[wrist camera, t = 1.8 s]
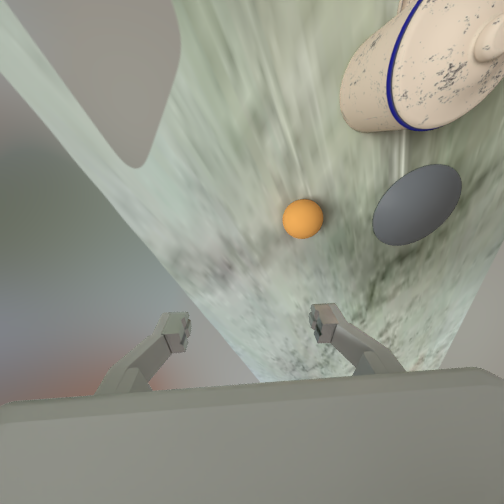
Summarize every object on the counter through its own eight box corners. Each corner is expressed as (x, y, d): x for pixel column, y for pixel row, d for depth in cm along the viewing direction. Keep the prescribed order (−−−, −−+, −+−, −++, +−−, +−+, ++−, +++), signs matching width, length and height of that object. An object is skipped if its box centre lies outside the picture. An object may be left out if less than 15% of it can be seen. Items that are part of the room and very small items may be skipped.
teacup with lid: (407, 125, 22) (541, 111, 12) (334, 142, 23) (407, 142, 13) (441, -36, 16) (774, -329, 6) (339, -7, 16) (490, -232, 7)
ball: (280, 195, 26) (289, 206, 21) (317, 194, 26) (334, 205, 21) (278, 229, 29) (285, 246, 24) (311, 228, 29) (325, 245, 24)
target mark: (391, 165, 25) (392, 165, 24) (479, 163, 25) (481, 163, 25) (361, 246, 31) (362, 246, 31) (431, 243, 32) (432, 244, 32)
